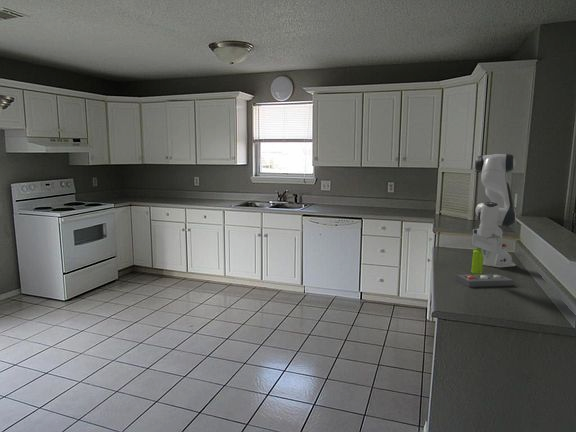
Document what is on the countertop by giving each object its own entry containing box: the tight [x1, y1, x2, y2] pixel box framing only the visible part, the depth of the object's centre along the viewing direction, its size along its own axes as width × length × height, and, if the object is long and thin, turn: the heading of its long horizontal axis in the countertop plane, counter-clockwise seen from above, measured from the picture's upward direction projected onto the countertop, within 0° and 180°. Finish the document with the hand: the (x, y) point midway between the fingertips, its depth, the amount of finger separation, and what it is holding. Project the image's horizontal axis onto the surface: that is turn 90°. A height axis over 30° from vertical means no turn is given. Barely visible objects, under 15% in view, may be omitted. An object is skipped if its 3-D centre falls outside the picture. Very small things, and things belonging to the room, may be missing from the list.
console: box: [455, 273, 514, 288], centre depth 223 cm, size 26×12×3 cm, turn 101°
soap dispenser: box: [470, 246, 484, 274], centre depth 241 cm, size 6×7×20 cm
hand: (485, 257), depth 222 cm, fingers closed
